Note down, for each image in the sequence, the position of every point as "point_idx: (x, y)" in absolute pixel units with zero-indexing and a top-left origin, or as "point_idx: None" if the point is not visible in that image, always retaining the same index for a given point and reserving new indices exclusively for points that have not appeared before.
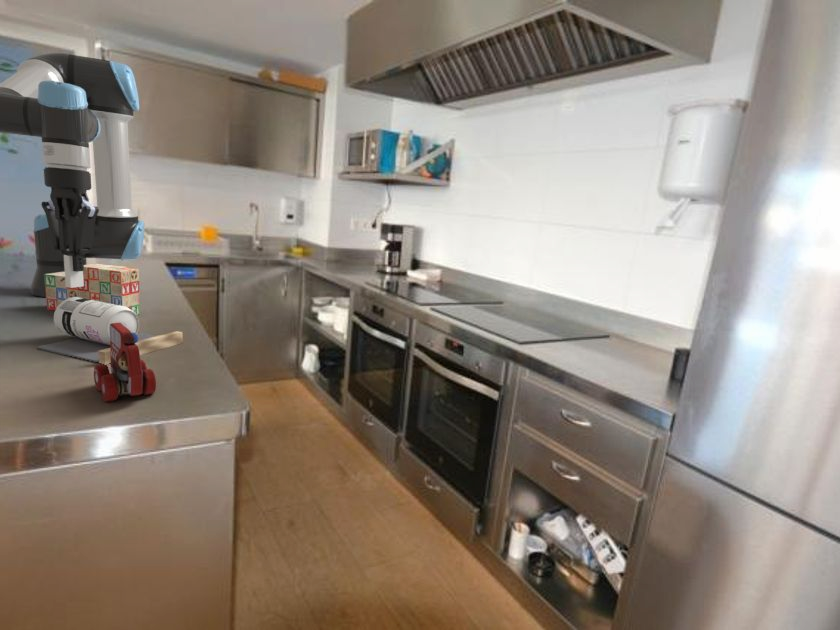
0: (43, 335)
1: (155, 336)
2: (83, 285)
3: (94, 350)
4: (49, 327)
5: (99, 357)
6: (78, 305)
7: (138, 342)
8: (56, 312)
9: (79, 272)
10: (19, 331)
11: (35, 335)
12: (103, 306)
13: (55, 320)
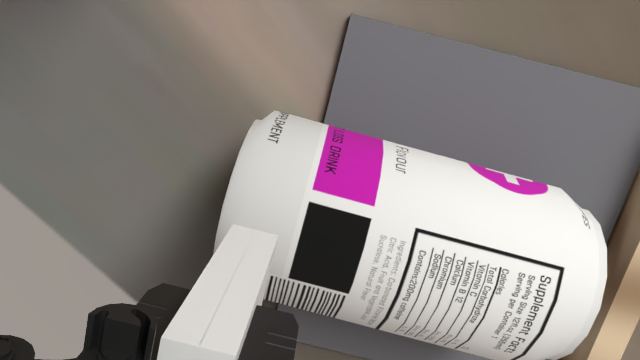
0: (158, 197)
1: (561, 80)
2: (277, 239)
3: None
4: (77, 90)
5: None
6: (345, 310)
7: (629, 307)
8: None
9: (258, 300)
10: (45, 181)
11: (136, 206)
12: (494, 331)
13: None
